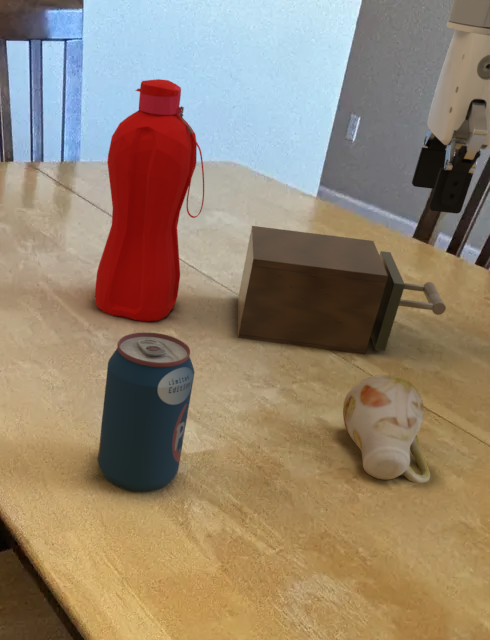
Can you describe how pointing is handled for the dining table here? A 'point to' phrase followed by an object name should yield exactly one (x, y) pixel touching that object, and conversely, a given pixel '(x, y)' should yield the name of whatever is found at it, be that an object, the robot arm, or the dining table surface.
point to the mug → (386, 426)
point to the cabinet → (310, 290)
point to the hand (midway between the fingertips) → (434, 198)
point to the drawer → (399, 301)
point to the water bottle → (147, 206)
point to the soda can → (145, 411)
